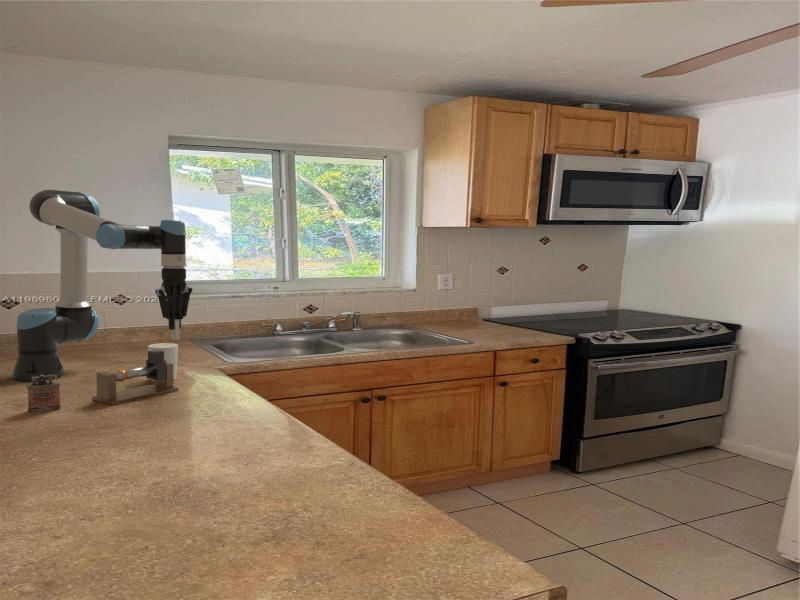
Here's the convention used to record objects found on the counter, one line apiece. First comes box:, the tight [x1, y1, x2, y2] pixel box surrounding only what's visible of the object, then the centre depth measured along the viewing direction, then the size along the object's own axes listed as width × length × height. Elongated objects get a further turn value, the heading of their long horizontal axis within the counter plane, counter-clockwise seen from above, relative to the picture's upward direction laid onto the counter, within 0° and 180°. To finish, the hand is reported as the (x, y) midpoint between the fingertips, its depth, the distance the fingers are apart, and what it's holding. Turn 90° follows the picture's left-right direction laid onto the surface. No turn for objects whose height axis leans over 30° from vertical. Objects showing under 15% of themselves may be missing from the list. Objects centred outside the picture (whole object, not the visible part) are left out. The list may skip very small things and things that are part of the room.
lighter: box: [26, 375, 62, 413], centre depth 171 cm, size 8×3×10 cm, turn 117°
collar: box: [145, 350, 166, 381], centre depth 195 cm, size 6×3×9 cm, turn 57°
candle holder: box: [147, 342, 179, 382], centre depth 211 cm, size 10×10×12 cm
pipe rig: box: [91, 362, 179, 406], centre depth 189 cm, size 10×23×9 cm, turn 147°
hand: (175, 338), depth 200 cm, fingers closed
